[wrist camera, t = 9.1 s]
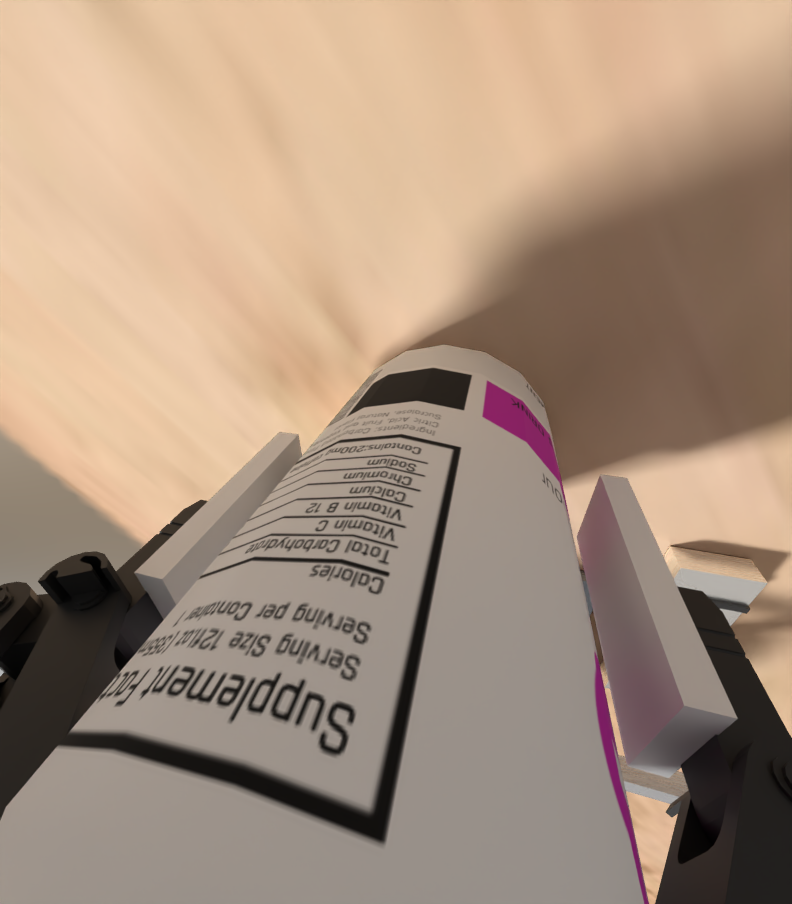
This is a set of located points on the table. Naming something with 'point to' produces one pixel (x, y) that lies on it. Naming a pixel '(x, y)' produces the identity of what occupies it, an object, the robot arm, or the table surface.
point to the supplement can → (359, 687)
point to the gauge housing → (708, 581)
